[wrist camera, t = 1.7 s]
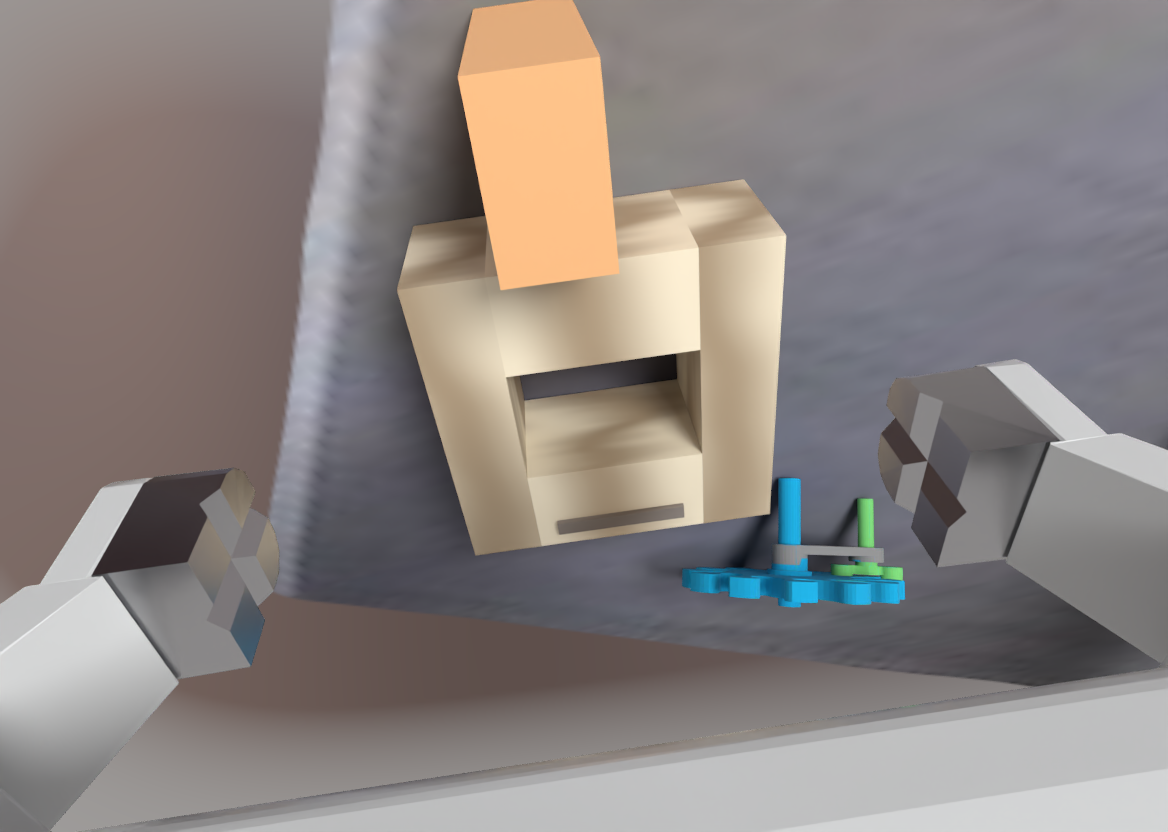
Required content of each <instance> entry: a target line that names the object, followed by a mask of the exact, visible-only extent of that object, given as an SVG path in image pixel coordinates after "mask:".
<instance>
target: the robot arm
mask: <svg viewBox="0 0 1168 832" xmlns="http://www.w3.org/2000/svg"><path fill="white" fill-rule="evenodd" d="M887 407H888V408H889V410H890V411H891V412H892V414H893V415H894V416H895V419H894V420H893V421H892V422H891V423H890V424H889V425H888V426H887V427H886V428H885V429H884V430H883V431H882V433H881V436H880V443H879V449H878V459H879V467H880V474H881V477H882V480H883V482H884V485H885V487H886V490H887V491H888V493H889V494H890V496H891V498H892V499H893V501H894V502H895V503H896V504H898V505H900V506H902V507H903V508H905V509H907V510H909V511H911V512H913V513H915V514H914V518H913V522H912V526H911V529H912V530H913V532H914V533H915V535H916V536H917V538H918V539H919V541H920V542H921V544H922V545H923V547H924V548H925V550H926V551H927V553H928V554H929V556H930V557H931V559H932V560H933V562H934V563H935V565H936V566H937V567H943V566H951V565H960V564H968V563H977V562H985V561H994V560H1002V559H1007V560H1006V563H1007V564H1009V565H1010V566H1012V567H1014V568H1015V569H1017V570H1018V571H1020V572H1021V573H1023V574H1024V575H1026V576H1027V577H1029V578H1030V579H1032V580H1033V581H1035V582H1037V583H1038V584H1040V585H1041V586H1043V587H1044V588H1046V589H1047V590H1049V591H1050V592H1052V593H1053V594H1055V595H1056V596H1058V597H1060V598H1061V599H1063V600H1064V601H1066V602H1067V603H1069V604H1070V605H1072V606H1073V607H1075V608H1076V609H1078V610H1079V611H1081V612H1083V613H1084V614H1086V615H1087V616H1089V617H1090V618H1092V619H1093V620H1095V621H1096V622H1098V623H1099V624H1101V625H1102V626H1104V627H1106V628H1107V629H1109V630H1110V631H1112V632H1113V633H1115V634H1116V635H1118V636H1119V637H1121V638H1122V639H1124V640H1125V641H1127V642H1129V643H1130V644H1132V645H1133V646H1135V647H1136V648H1138V649H1139V650H1141V651H1142V652H1144V653H1145V654H1147V655H1148V656H1150V657H1152V658H1153V659H1155V660H1156V661H1158V662H1159V663H1161V665H1160V666H1159V668H1156V669H1149V670H1143V671H1136V672H1129V673H1123V674H1116V675H1110V676H1103V677H1096V678H1090V679H1083V680H1076V681H1070V682H1063V683H1057V684H1050V685H1043V686H1037V687H1030V688H1023V689H1017V690H1010V691H1004V692H998V693H991V694H984V695H977V696H971V697H965V698H958V699H952V700H945V701H939V702H932V703H925V704H919V705H912V706H905V707H899V708H892V709H886V710H880V711H873V712H866V713H860V714H853V715H847V716H840V717H833V718H827V719H821V720H814V721H807V722H801V723H794V724H788V725H781V726H775V727H768V728H761V729H755V730H748V731H742V732H735V733H729V734H722V735H716V736H709V737H702V738H695V739H689V740H682V741H676V742H669V743H662V744H655V745H649V746H642V747H636V748H629V749H623V750H615V751H609V752H602V753H596V754H589V755H582V756H575V757H569V758H562V759H556V760H549V761H543V762H536V763H529V764H522V765H516V766H509V767H502V768H496V769H489V770H482V771H476V772H470V773H462V774H456V775H449V776H442V777H436V778H430V779H422V780H416V781H409V782H403V783H397V784H389V785H383V786H376V787H370V788H363V789H356V790H350V791H343V792H336V793H330V794H324V795H317V796H310V797H304V798H297V799H290V800H284V801H277V802H270V803H264V804H257V805H250V806H244V807H237V808H231V809H224V810H217V811H211V812H205V813H198V814H191V815H184V816H178V817H171V818H165V819H158V820H151V821H145V822H138V823H131V824H125V825H119V826H112V827H105V828H99V829H92V830H85V831H79V832H1168V450H1166V449H1163V448H1160V447H1157V446H1154V445H1152V444H1149V443H1146V442H1143V441H1141V440H1138V439H1135V438H1132V437H1130V436H1127V435H1124V434H1121V433H1119V434H1111V435H1107V434H1106V433H1105V432H1104V431H1103V430H1102V429H1101V428H1099V427H1098V426H1097V425H1096V424H1095V423H1094V422H1093V421H1092V420H1090V419H1089V418H1088V417H1087V416H1086V415H1085V414H1084V413H1083V412H1081V411H1080V410H1079V409H1078V408H1077V407H1076V406H1075V405H1074V404H1072V403H1071V402H1070V401H1069V400H1068V399H1067V398H1066V397H1065V396H1063V395H1062V394H1061V393H1060V392H1059V391H1058V390H1057V389H1056V388H1055V387H1053V386H1052V385H1051V384H1050V383H1049V382H1048V381H1047V380H1046V379H1044V378H1043V377H1042V376H1041V375H1040V374H1039V373H1038V372H1037V371H1035V370H1034V369H1033V368H1032V367H1031V366H1030V365H1029V364H1028V363H1025V362H1022V361H1019V360H1016V359H1013V360H1007V361H1001V362H995V363H989V364H983V365H977V366H975V367H973V368H966V369H959V370H952V371H944V372H937V373H930V374H923V375H916V376H909V377H902V378H896V379H895V381H894V383H893V384H892V386H891V388H890V391H889V395H888V400H887ZM254 495H255V490H254V488H253V486H252V484H251V483H250V481H249V479H248V477H247V475H246V473H245V472H244V471H241V470H239V469H237V468H228V469H219V470H210V471H202V472H193V473H184V474H176V475H167V476H158V477H154V478H144V479H136V480H129V481H120V482H113V483H111V484H109V485H107V486H105V487H103V488H101V490H100V491H99V492H98V494H97V496H96V497H95V499H94V500H93V502H92V503H91V505H90V506H89V508H88V510H87V511H86V513H85V514H84V516H83V517H82V519H81V521H80V522H79V524H78V525H77V527H76V528H75V530H74V531H73V533H72V535H71V536H70V538H69V540H68V541H67V542H66V544H65V546H64V547H63V549H62V550H61V552H60V553H59V555H58V557H57V558H56V560H55V561H54V563H53V565H52V566H51V568H50V569H49V571H48V572H47V574H46V575H45V577H44V579H43V580H42V582H41V583H40V585H34V586H28V587H24V588H23V589H21V590H20V591H19V592H18V593H16V594H14V595H13V596H12V597H10V598H9V599H8V600H6V601H4V602H3V603H2V604H0V832H51V831H50V830H51V829H52V827H53V826H54V825H55V824H56V823H57V822H58V821H59V819H60V818H61V817H62V816H63V815H64V813H66V811H67V810H68V809H69V808H70V807H71V806H72V805H73V803H74V802H75V801H76V800H77V799H78V798H79V797H80V795H81V794H82V793H83V792H84V791H85V790H86V789H87V788H88V786H89V785H90V784H91V783H92V782H93V780H95V778H96V777H97V776H98V775H99V774H100V773H101V771H102V770H103V769H104V768H105V767H106V766H107V764H109V762H110V761H111V760H112V759H113V758H114V757H115V756H116V754H117V753H118V752H119V751H120V750H121V749H122V748H123V746H124V745H125V744H126V743H127V742H128V741H129V740H130V738H131V737H132V736H133V735H134V734H135V733H136V731H137V730H138V729H139V728H140V727H141V726H142V725H143V724H144V722H145V721H146V720H147V719H148V718H149V717H150V716H151V714H152V713H153V712H154V711H155V710H156V709H157V708H158V706H159V705H160V704H161V703H162V702H163V701H164V700H165V698H166V697H167V696H168V695H169V694H170V693H171V692H172V690H173V689H174V688H175V687H176V686H177V685H178V684H179V681H178V680H177V679H182V678H188V677H194V676H199V675H206V674H211V673H217V672H223V671H229V670H235V669H240V668H246V667H251V665H252V662H253V658H254V655H255V652H256V649H257V645H258V642H259V639H260V635H261V632H262V629H263V625H264V622H265V619H264V618H263V616H262V614H261V612H260V610H259V608H258V606H259V605H260V604H261V603H262V602H263V601H264V600H265V599H266V598H267V597H268V596H269V595H270V594H271V593H272V592H273V591H274V588H275V585H276V581H277V577H278V574H279V547H278V543H277V539H276V535H275V532H274V529H273V527H272V525H271V523H270V521H269V519H268V518H267V517H266V516H264V515H262V514H261V513H259V512H257V511H256V510H254V509H252V508H251V507H250V506H251V503H252V500H253V497H254Z"/></svg>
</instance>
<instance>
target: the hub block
mask: <svg viewBox="0 0 1168 832" xmlns="http://www.w3.org/2000/svg"><path fill="white" fill-rule="evenodd" d="M613 207H614V218H615V229H616V240H617V251H618V262H619V273H620V274H613V275H606V276H599V277H592V278H585V279H577V280H570V281H563V282H556V283H549V284H542V285H535V286H528V287H520V288H513V289H506V290H500V285H499V280H498V275H497V270H496V265H495V260H494V255H493V250H492V245H491V240H490V235H489V230H488V225H487V220H486V216H481V217H474V218H467V219H460V220H452V221H445V222H438V223H431V224H424V225H417V226H413V229H412V233H411V237H410V241H409V245H408V249H407V253H406V257H405V260H404V264H403V268H402V272H401V276H400V280H399V284H398V288H397V292H398V296H399V299H400V302H401V306H402V309H403V312H404V316H405V319H406V322H407V326H408V329H409V333H410V336H411V339H412V343H413V346H414V349H415V353H416V356H417V360H418V363H419V366H420V370H421V373H422V376H423V380H424V383H425V387H426V390H427V393H428V397H429V400H430V403H431V407H432V410H433V414H434V417H435V420H436V424H437V427H438V430H439V434H440V437H441V441H442V444H443V447H444V451H445V454H446V457H447V461H448V464H449V468H450V471H451V474H452V478H453V481H454V484H455V488H456V491H457V495H458V498H459V501H460V505H461V508H462V511H463V515H464V518H465V522H466V525H467V528H468V532H469V535H470V538H471V542H472V545H473V549H474V552H475V555H482V554H490V553H497V552H504V551H511V550H518V549H525V548H532V547H539V546H546V545H553V544H560V543H567V542H574V541H581V540H588V539H596V538H603V537H610V536H617V535H624V534H631V533H638V532H645V531H652V530H659V529H666V528H673V527H680V526H687V525H694V524H702V523H709V522H716V521H723V520H730V519H737V518H744V517H751V516H758V515H765V514H770V500H771V483H772V466H773V449H774V432H775V416H776V399H777V382H778V365H779V348H780V331H781V314H782V297H783V280H784V263H785V247H786V234H785V233H784V232H783V230H782V229H781V228H780V226H779V225H778V224H777V223H776V221H775V220H774V219H773V217H772V216H771V215H770V213H769V212H768V211H767V209H766V208H765V207H764V205H763V204H762V203H761V201H760V200H759V199H758V198H757V196H756V195H755V194H754V192H753V191H752V190H751V188H750V187H749V186H748V184H747V183H746V182H745V180H744V179H743V180H736V181H729V182H722V183H715V184H708V185H701V186H694V187H687V188H680V189H672V190H665V191H658V192H651V193H644V194H637V195H630V196H623V197H616V198H613ZM675 353H676V360H677V379H675V380H668V381H661V382H653V383H646V384H639V385H632V386H625V387H618V388H611V389H604V390H597V391H590V392H583V393H576V394H568V395H561V396H554V397H547V398H540V399H533V400H526V401H525V400H524V395H523V390H522V385H521V380H520V375H526V374H533V373H540V372H547V371H554V370H561V369H569V368H576V367H583V366H590V365H597V364H604V363H611V362H618V361H625V360H632V359H639V358H646V357H654V356H661V355H668V354H675Z"/></svg>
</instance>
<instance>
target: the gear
mask: <svg viewBox="0 0 1168 832" xmlns="http://www.w3.org/2000/svg"><path fill="white" fill-rule="evenodd" d="M857 505H858V547H851V546H823V545H801V479H796V478H779V490H778V544H772V569H767V570H758V569H750V568H738V567H726V569H721V568H709V567H697V568H696V569H683V572H682V586H683V587H686V588H691V591H696V592H703V593H720V591H729V597H739V598H753V599H759V598H760V595H766V596H770V597H776V598H778V605H779V606H786V607H801V603H818V600H827V601H834V602H839V603H844V604H853V605H866V604H871V601H873V602H882V603H896V604H898V603H900V599H905V581H903V568H902V567H889V566H877V563H884V548H874V517H873V499H857ZM808 555H840V556H849V561H855V565H844V564H831V572H818V571H814V572H813V573H812V571H808ZM853 574H864V575H853ZM866 575H880V577H877V576H866Z"/></svg>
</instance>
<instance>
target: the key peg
mask: <svg viewBox="0 0 1168 832" xmlns="http://www.w3.org/2000/svg"><path fill="white" fill-rule="evenodd" d="M458 81H459V86H460V90H461V95H462V100H463V105H464V110H465V115H466V120H467V125H468V130H469V135H470V140H471V145H472V150H473V155H474V160H475V165H476V170H477V175H478V180H479V185H480V190H481V195H482V200H483V205H484V210H485V215H486V220H487V225H488V230H489V235H490V240H491V245H492V250H493V255H494V260H495V265H496V270H497V275H498V280H499V285H500V290H506V289H513V288H520V287H528V286H535V285H542V284H549V283H556V282H563V281H570V280H577V279H585V278H592V277H599V276H606V275H613V274H620V273H619V262H618V251H617V240H616V229H615V218H614V207H613V195H612V184H611V173H610V162H609V151H608V140H607V129H606V118H605V107H604V95H603V84H602V73H601V62H600V56H599V53H598V51H597V49H596V47H595V45H594V43H593V41H592V39H591V37H590V35H589V33H588V31H587V29H586V27H585V25H584V23H583V21H582V19H581V17H580V14H579V12H578V10H577V8H576V6H575V4H574V2H573V0H534V1H527V2H520V3H513V4H505V5H498V6H491V7H484V8H477V9H473V12H472V17H471V21H470V25H469V30H468V34H467V38H466V43H465V47H464V51H463V56H462V60H461V64H460V69H459V73H458Z"/></svg>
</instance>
